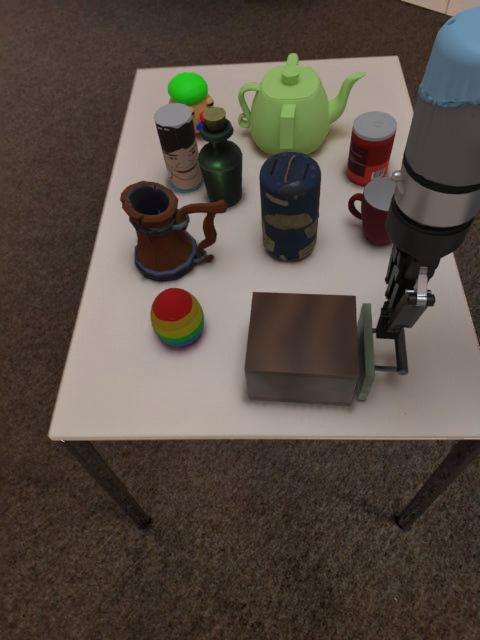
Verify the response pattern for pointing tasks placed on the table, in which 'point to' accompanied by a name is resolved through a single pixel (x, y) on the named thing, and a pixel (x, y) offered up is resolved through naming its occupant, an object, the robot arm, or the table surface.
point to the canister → (290, 204)
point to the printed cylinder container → (179, 146)
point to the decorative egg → (177, 317)
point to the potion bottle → (220, 158)
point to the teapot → (292, 108)
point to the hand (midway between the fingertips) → (386, 334)
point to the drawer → (367, 353)
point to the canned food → (370, 146)
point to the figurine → (191, 95)
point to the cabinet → (302, 348)
